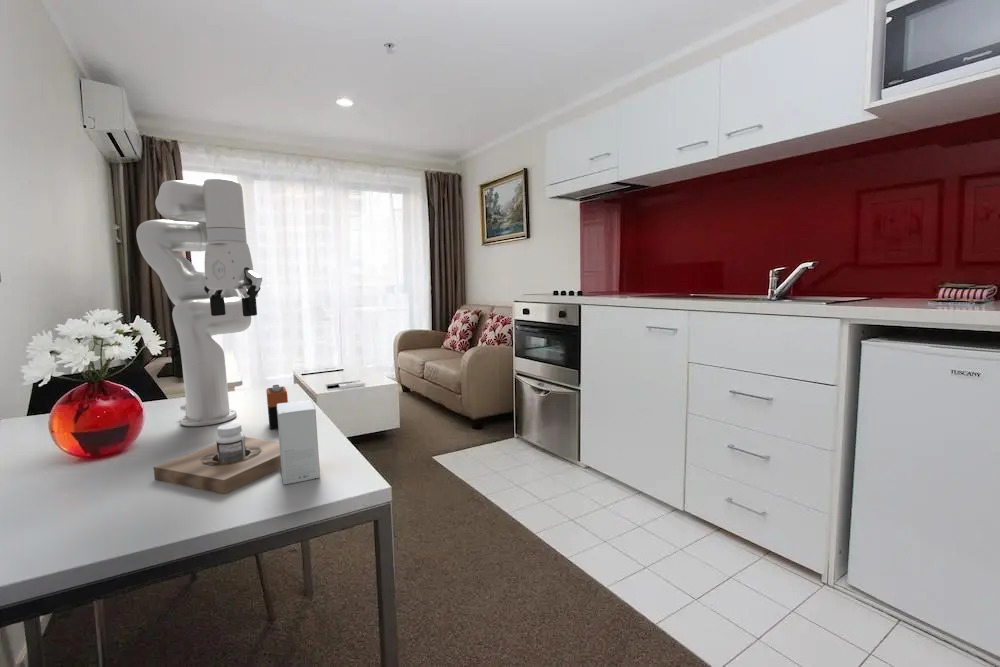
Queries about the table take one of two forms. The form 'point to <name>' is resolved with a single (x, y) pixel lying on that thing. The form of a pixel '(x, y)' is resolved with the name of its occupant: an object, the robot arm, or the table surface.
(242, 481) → the socket block
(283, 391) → the battery
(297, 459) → the small box
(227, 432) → the pill bottle
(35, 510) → the table surface
